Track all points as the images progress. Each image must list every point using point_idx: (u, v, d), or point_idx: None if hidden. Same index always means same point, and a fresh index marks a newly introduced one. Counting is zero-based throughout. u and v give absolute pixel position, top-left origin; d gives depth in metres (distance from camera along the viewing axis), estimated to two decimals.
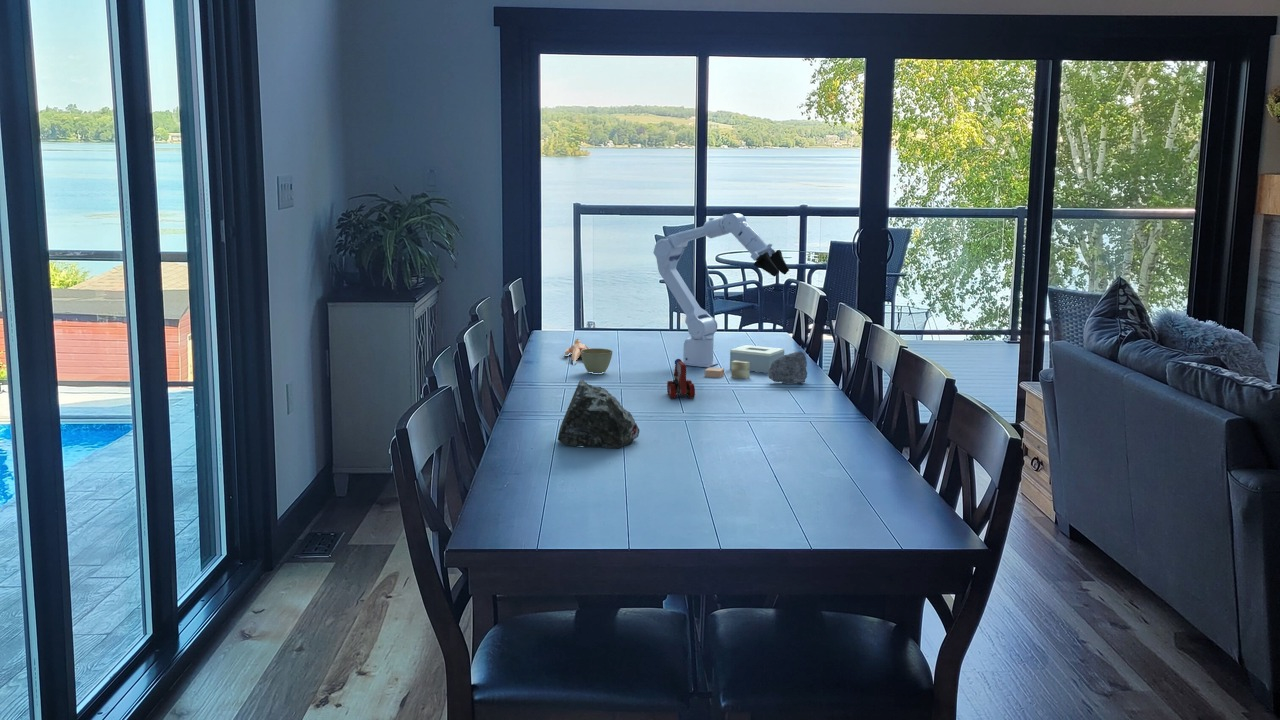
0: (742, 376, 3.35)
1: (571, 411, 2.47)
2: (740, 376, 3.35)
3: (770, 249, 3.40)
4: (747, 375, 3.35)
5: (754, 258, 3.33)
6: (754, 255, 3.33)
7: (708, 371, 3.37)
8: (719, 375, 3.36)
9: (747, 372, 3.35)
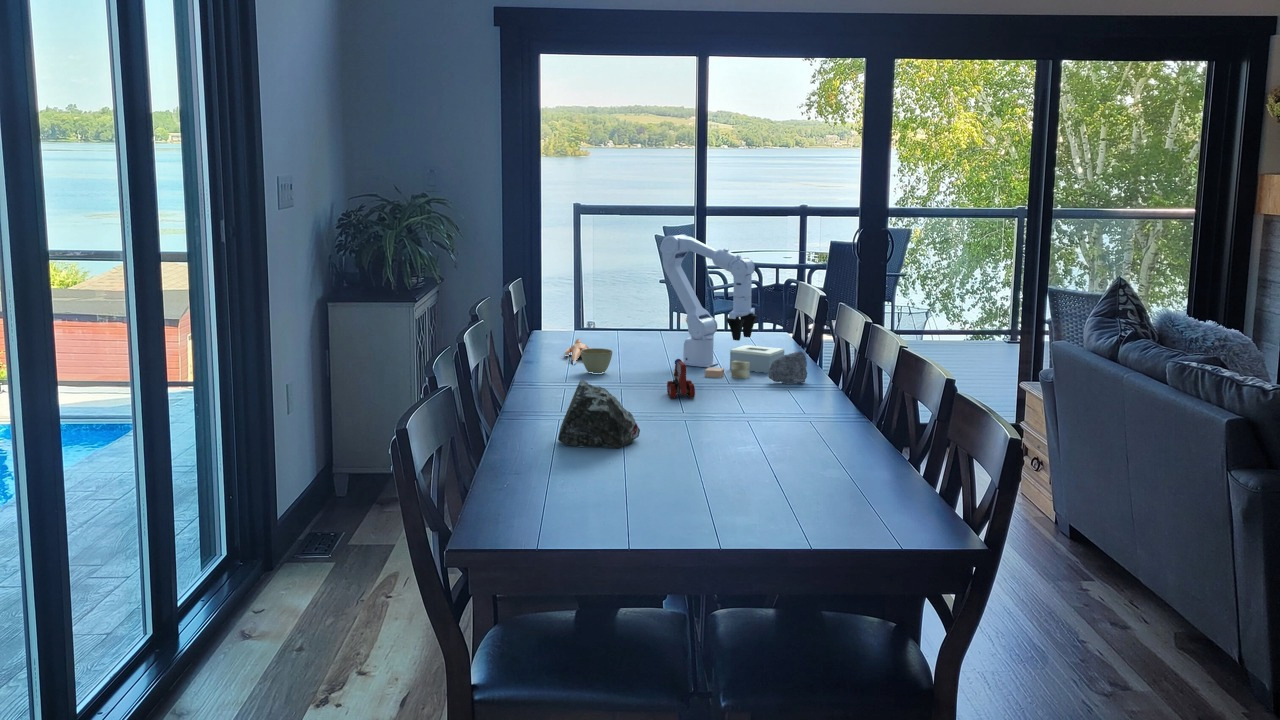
0: (742, 376, 3.35)
1: (571, 411, 2.47)
2: (740, 376, 3.35)
3: None
4: (747, 375, 3.35)
5: (730, 317, 3.41)
6: (732, 315, 3.40)
7: (708, 371, 3.37)
8: (719, 375, 3.36)
9: (747, 372, 3.35)
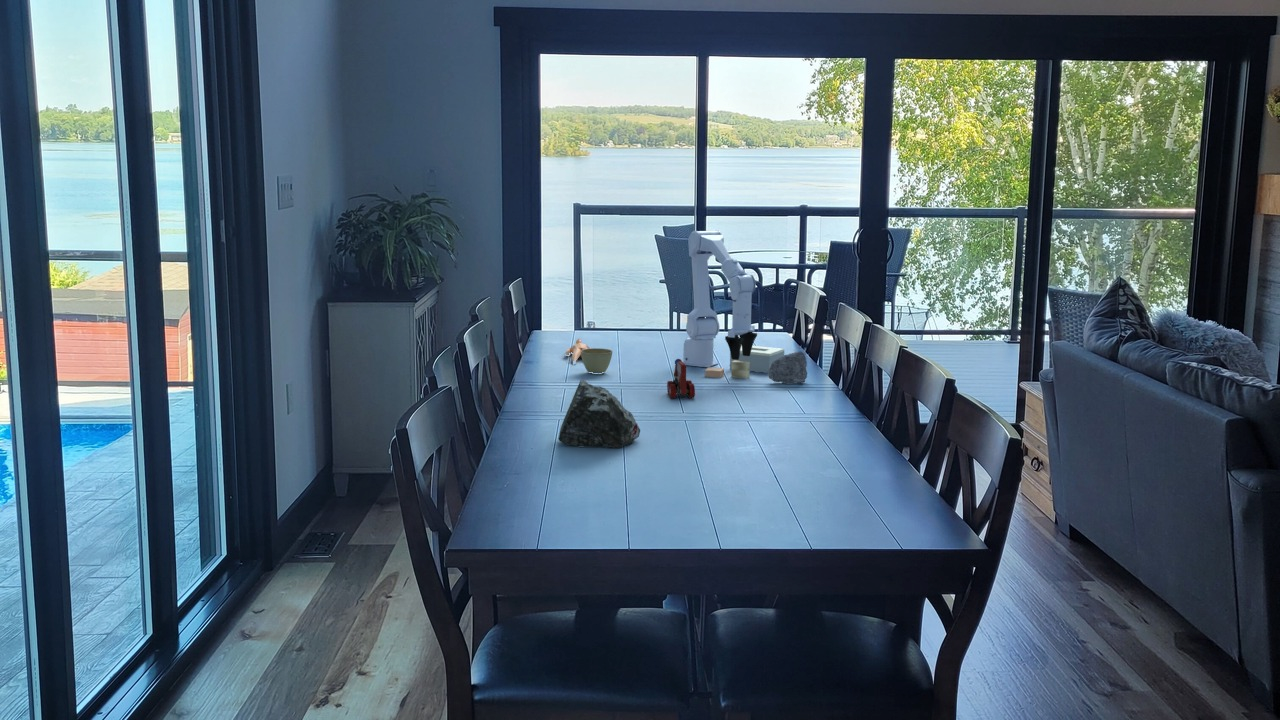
0: (742, 376, 3.35)
1: (572, 411, 2.47)
2: (740, 376, 3.35)
3: None
4: (747, 375, 3.35)
5: (729, 335, 3.28)
6: (731, 334, 3.28)
7: (708, 371, 3.37)
8: (719, 375, 3.36)
9: (747, 372, 3.35)
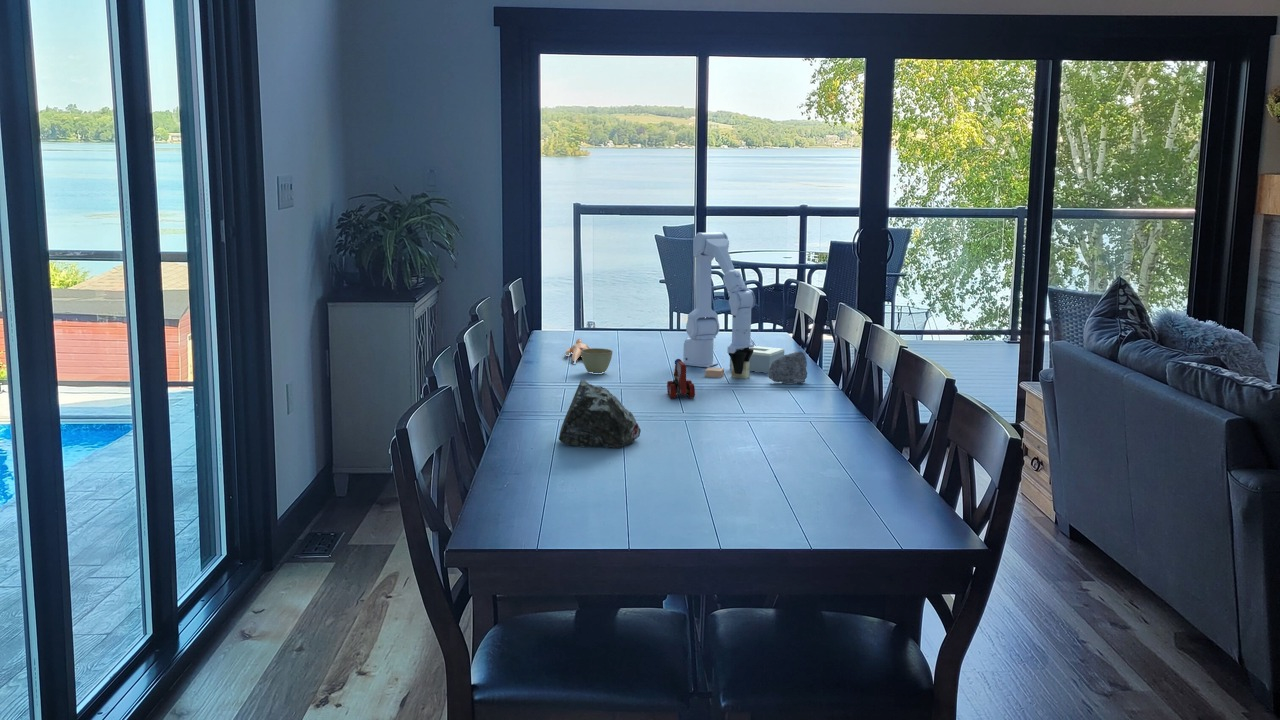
0: (742, 376, 3.35)
1: (572, 411, 2.47)
2: (740, 376, 3.35)
3: None
4: (747, 375, 3.35)
5: (729, 351, 3.29)
6: (731, 349, 3.29)
7: (708, 371, 3.37)
8: (719, 375, 3.36)
9: (747, 372, 3.35)
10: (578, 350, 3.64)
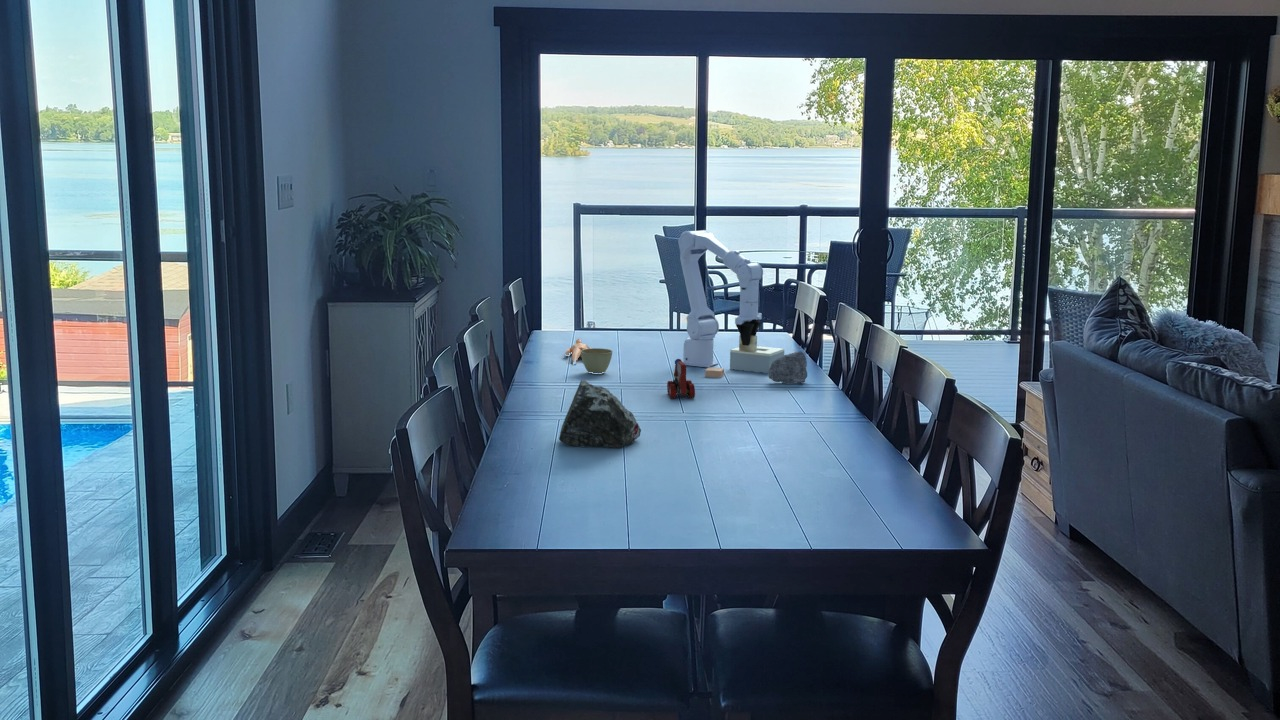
0: (750, 350, 3.40)
1: (572, 411, 2.47)
2: (748, 350, 3.40)
3: None
4: (754, 349, 3.40)
5: (736, 322, 3.34)
6: (738, 321, 3.34)
7: (708, 371, 3.37)
8: (719, 375, 3.36)
9: (754, 346, 3.40)
10: (578, 350, 3.64)
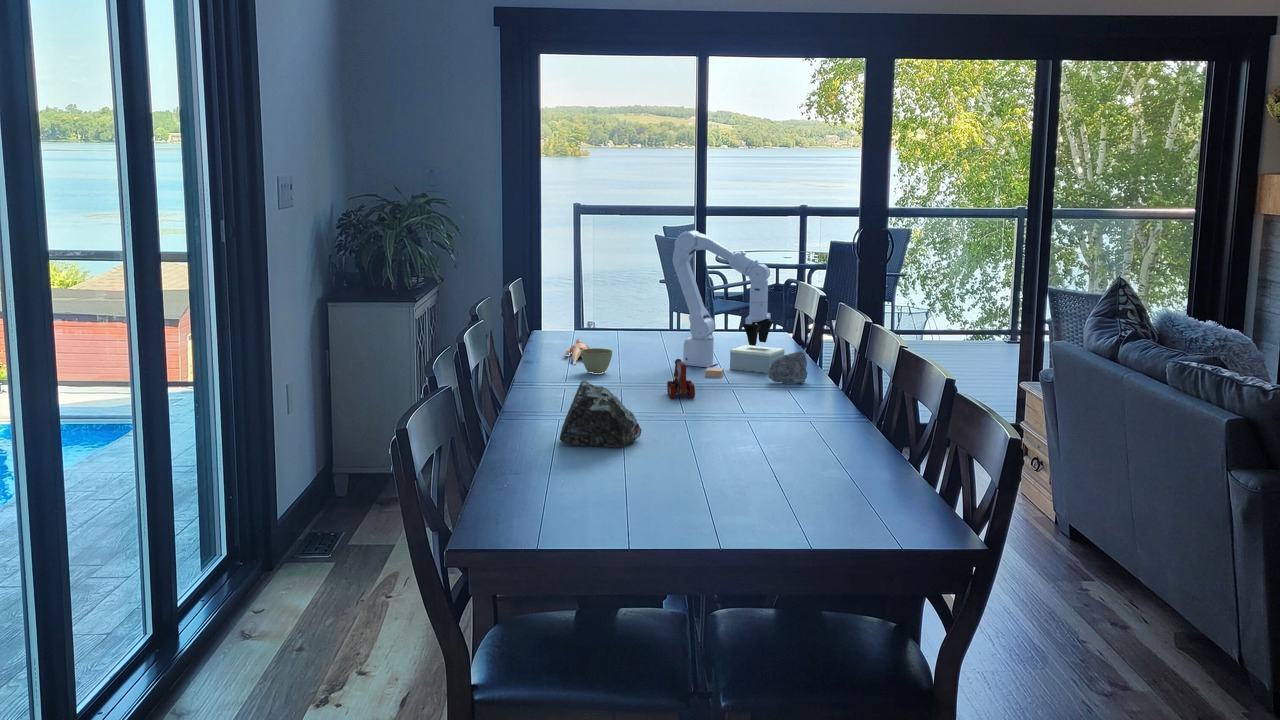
0: None
1: (573, 411, 2.47)
2: None
3: None
4: None
5: (746, 322, 3.43)
6: (748, 320, 3.42)
7: (708, 371, 3.37)
8: (720, 375, 3.36)
9: None
10: (578, 350, 3.64)
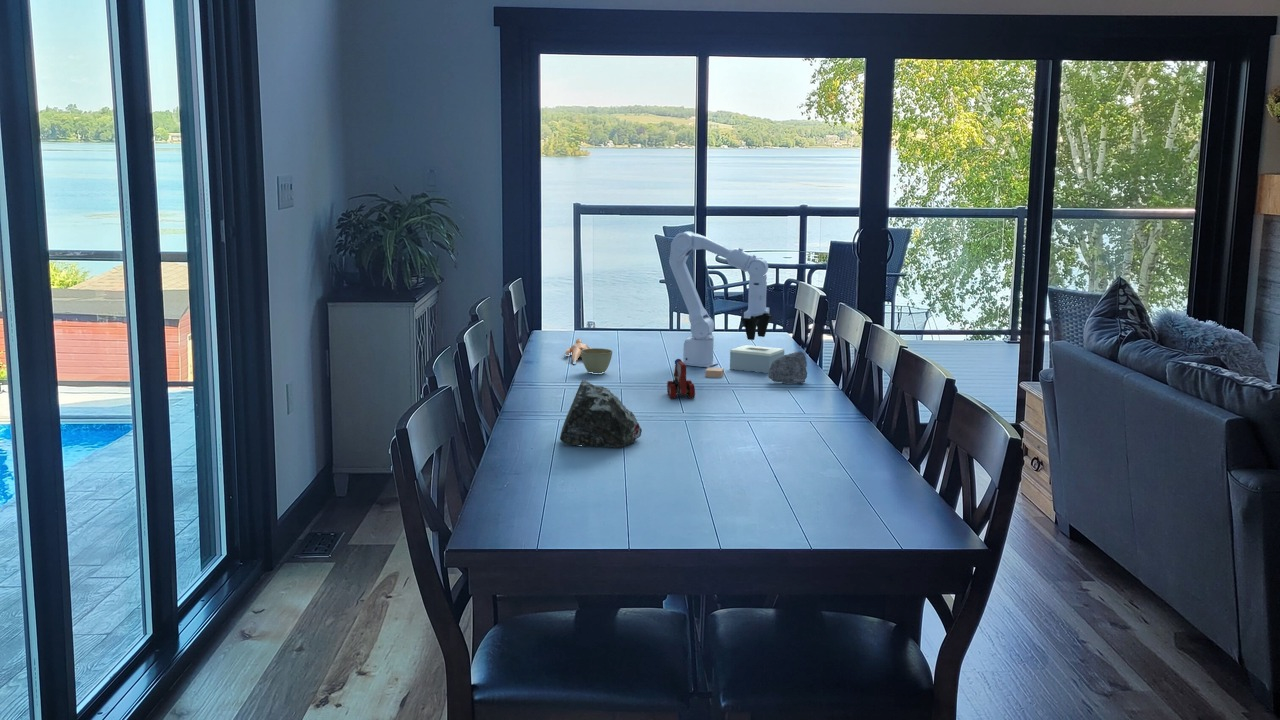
0: None
1: (573, 411, 2.47)
2: None
3: None
4: None
5: (745, 316, 3.44)
6: (747, 315, 3.43)
7: (709, 371, 3.37)
8: (720, 375, 3.36)
9: None
10: (578, 350, 3.64)
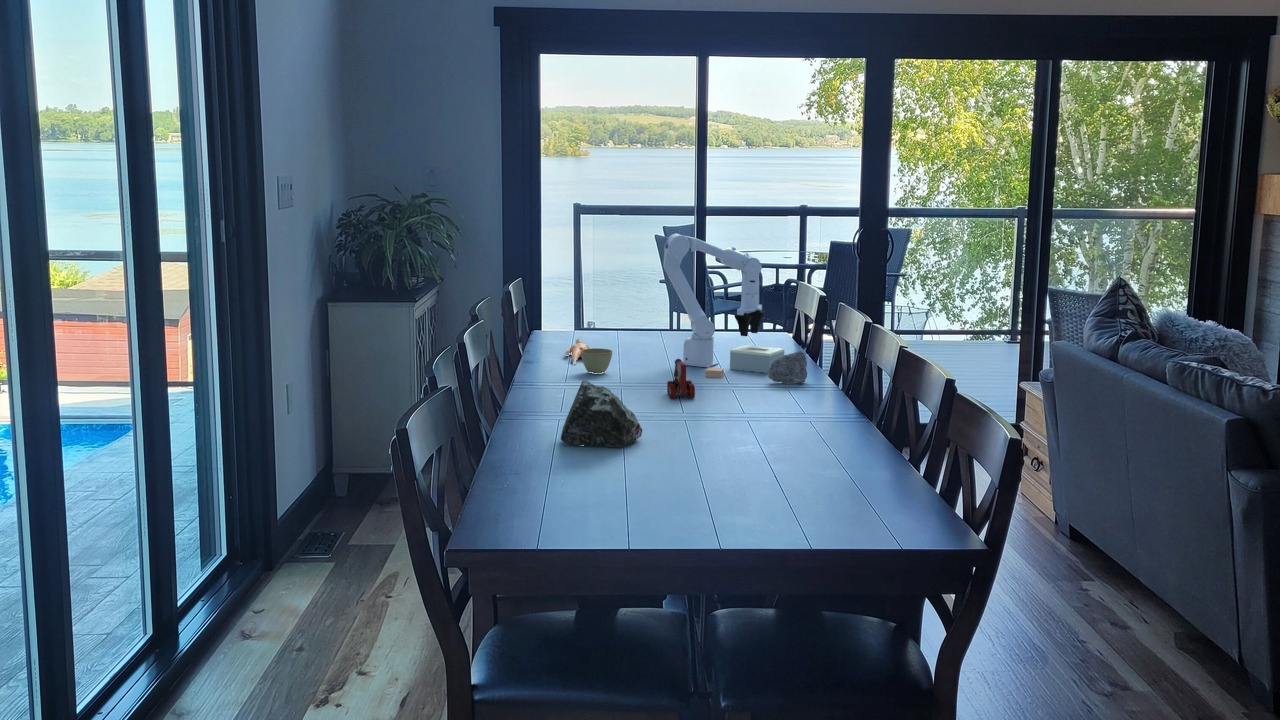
0: None
1: (574, 411, 2.47)
2: None
3: None
4: None
5: (738, 313, 3.50)
6: (740, 311, 3.50)
7: (709, 371, 3.37)
8: (720, 375, 3.36)
9: None
10: (578, 350, 3.64)
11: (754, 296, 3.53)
